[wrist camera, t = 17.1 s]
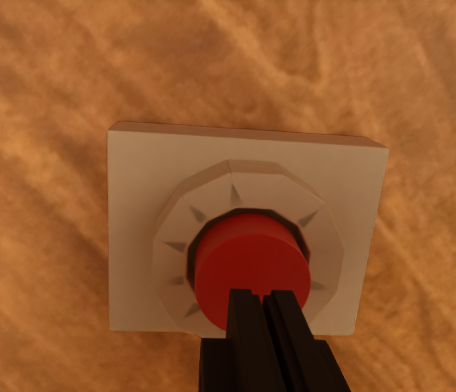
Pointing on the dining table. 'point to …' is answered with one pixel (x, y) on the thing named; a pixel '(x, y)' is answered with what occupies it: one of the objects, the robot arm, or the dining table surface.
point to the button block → (231, 205)
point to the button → (247, 263)
